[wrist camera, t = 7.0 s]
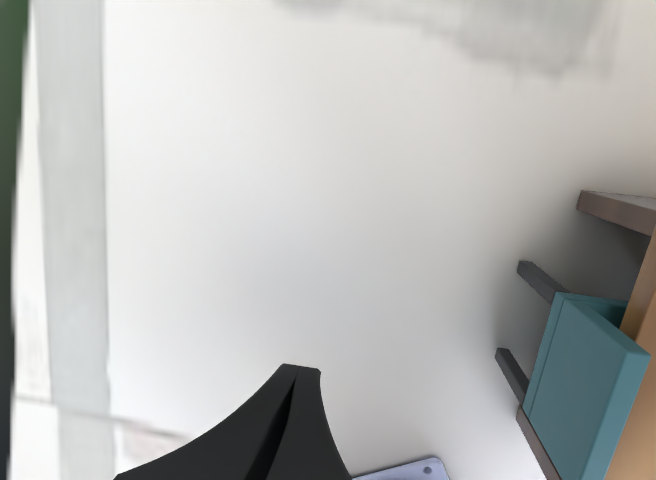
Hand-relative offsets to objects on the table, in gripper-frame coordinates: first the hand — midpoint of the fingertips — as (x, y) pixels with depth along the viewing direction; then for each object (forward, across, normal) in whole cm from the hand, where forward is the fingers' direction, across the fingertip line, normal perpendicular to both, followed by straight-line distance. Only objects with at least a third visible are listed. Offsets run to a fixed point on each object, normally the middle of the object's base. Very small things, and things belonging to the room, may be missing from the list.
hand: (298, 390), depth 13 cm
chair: (+9, -14, 0) cm, 17 cm away
